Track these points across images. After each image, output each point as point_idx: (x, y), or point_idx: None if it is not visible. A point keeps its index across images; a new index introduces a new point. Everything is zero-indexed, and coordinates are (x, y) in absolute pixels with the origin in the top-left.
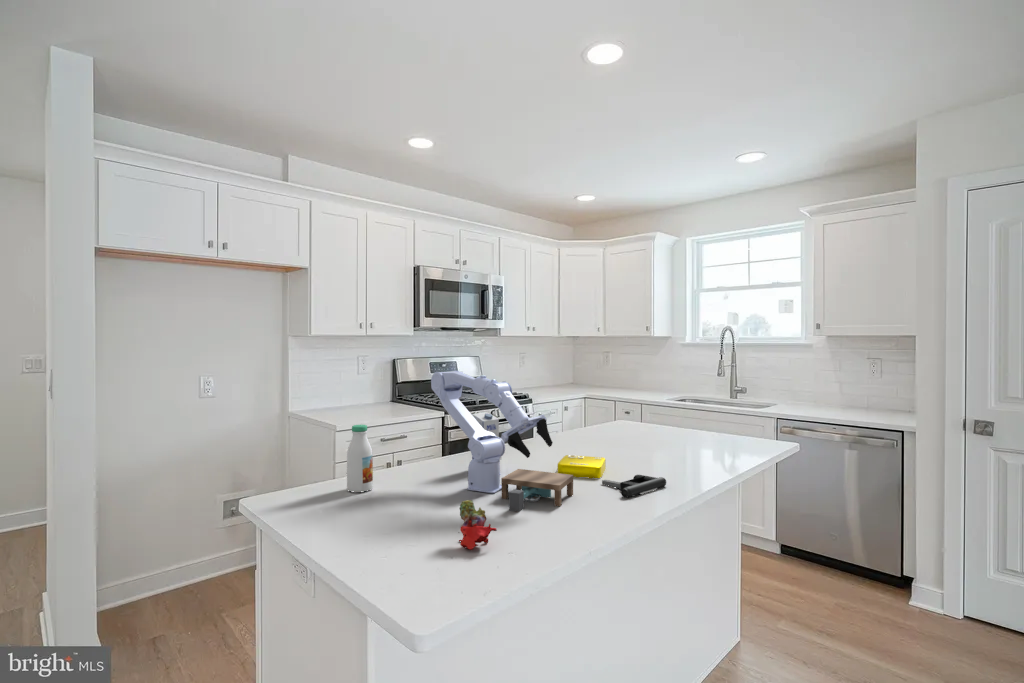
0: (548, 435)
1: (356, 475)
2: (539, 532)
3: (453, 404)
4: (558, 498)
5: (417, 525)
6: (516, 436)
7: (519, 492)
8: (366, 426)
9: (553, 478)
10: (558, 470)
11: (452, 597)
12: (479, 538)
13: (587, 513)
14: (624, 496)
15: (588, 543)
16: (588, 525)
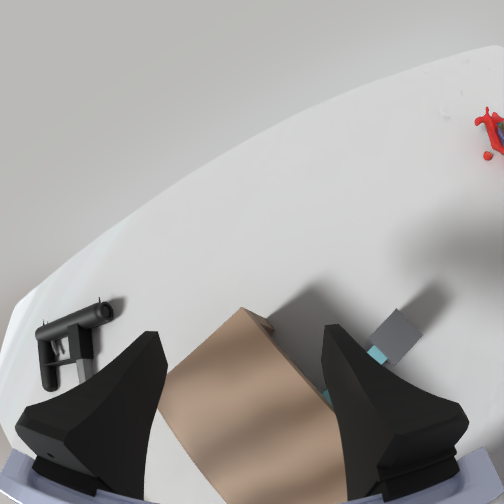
0: (124, 355)
1: None
2: (384, 173)
3: None
4: (259, 317)
5: None
6: (414, 409)
7: (391, 320)
8: None
9: (217, 392)
10: None
11: (495, 66)
12: (498, 149)
13: (230, 249)
14: (111, 312)
15: (313, 118)
16: (269, 184)
